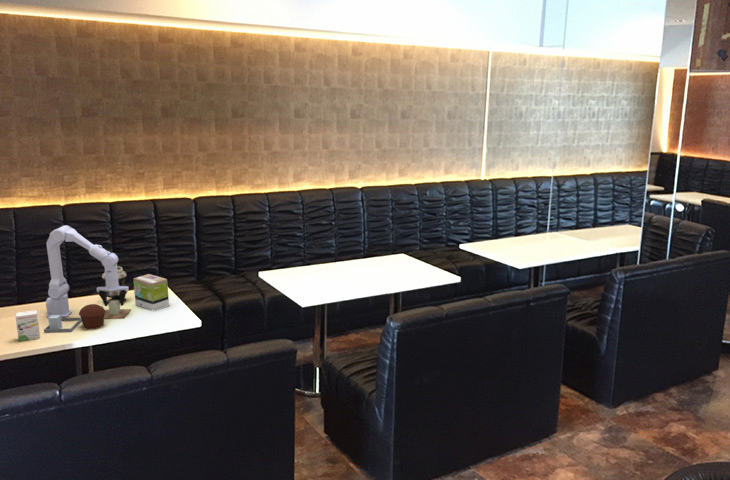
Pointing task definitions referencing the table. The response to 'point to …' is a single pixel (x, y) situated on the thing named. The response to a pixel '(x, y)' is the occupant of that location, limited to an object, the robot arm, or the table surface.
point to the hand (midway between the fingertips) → (114, 305)
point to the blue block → (55, 322)
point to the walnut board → (121, 315)
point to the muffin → (92, 316)
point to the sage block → (114, 307)
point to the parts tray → (48, 330)
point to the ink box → (27, 325)
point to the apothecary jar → (115, 294)
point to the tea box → (151, 292)
